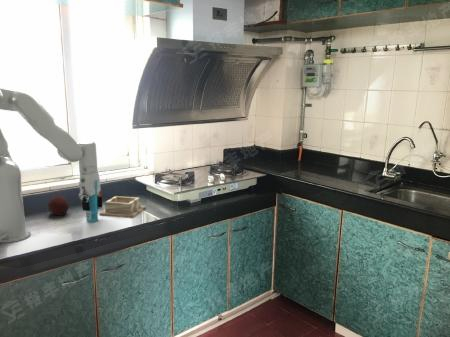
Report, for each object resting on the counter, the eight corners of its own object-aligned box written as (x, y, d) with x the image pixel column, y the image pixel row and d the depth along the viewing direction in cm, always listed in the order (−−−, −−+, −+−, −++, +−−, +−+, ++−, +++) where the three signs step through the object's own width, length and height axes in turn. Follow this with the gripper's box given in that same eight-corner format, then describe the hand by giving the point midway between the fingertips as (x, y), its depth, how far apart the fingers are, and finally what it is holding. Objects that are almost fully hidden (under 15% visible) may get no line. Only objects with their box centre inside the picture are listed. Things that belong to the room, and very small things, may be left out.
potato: (52, 219, 175) (51, 200, 173) (46, 213, 184) (44, 194, 182) (72, 215, 180) (70, 197, 178) (64, 209, 190) (63, 191, 188)
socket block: (133, 217, 178) (132, 205, 177) (99, 215, 181) (98, 203, 180) (145, 208, 192) (145, 196, 191) (114, 206, 196) (113, 194, 194)
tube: (101, 218, 176) (98, 178, 172) (99, 222, 172) (96, 180, 168) (85, 219, 176) (81, 178, 172) (82, 223, 171) (78, 181, 167)
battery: (86, 208, 192) (84, 188, 190) (98, 205, 197) (97, 186, 195) (90, 210, 189) (88, 190, 187) (102, 207, 194) (101, 188, 192)
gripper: (85, 174, 160) (88, 214, 163) (105, 165, 177) (108, 202, 180) (69, 173, 161) (72, 213, 165) (91, 165, 178) (93, 201, 182)
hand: (91, 207), depth 173 cm, fingers open, 7 cm apart
